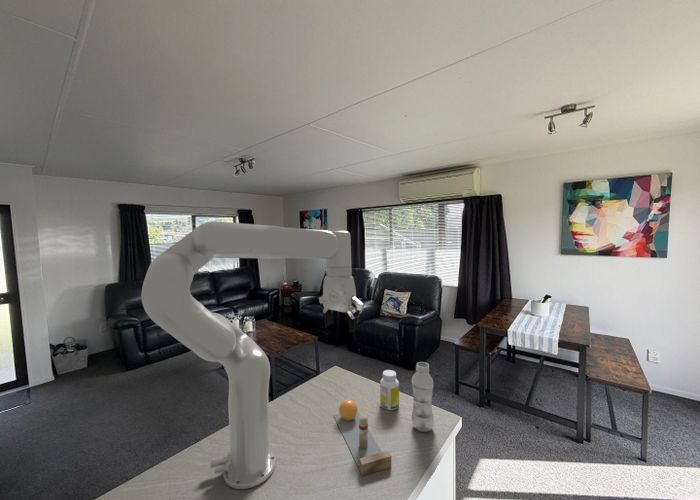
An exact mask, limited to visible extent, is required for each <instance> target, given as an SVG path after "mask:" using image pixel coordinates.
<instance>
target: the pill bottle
mask: <svg viewBox="0 0 700 500" xmlns="http://www.w3.org/2000/svg"><path fill="white" fill-rule="evenodd" d="M379 384H380V385H379V387H380V390H379V391H380V392H379V393H380V394H379V395H380V396H379V397H380V405H381V407H382V408H383V409H385V410H388V411H395V410H397V409H398V408H399V407H400V382H399V380H398V379H397V372H396V371H395V370H393V369H392V370H391V369H385V370H383V372H382V378H381V379H380V382H379Z"/></svg>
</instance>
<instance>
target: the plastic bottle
mask: <svg viewBox="0 0 700 500" xmlns="http://www.w3.org/2000/svg"><path fill="white" fill-rule="evenodd" d="M429 372H430V364H429V363H427V362H424V361H420V362H417V363H416V365H415V373H414V374H413V375H412V378H411V389H412V397H413V405H412V412H411V425H412V426H413V428H414V429H415V430H416V431H418V432H421V433H429V432H431V430H432V429H434V428H433V427H434V425H435V420H434V413H433V403H432V401H433V391H434V384H435V383H434V380H433V379H434V378H433V377H432V376H431V374H430V373H429Z"/></svg>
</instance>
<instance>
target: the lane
mask: <svg viewBox="0 0 700 500" xmlns="http://www.w3.org/2000/svg"><path fill="white" fill-rule="evenodd" d="M359 416H361V415H360V414H359V412H358V411H357V415H356V417H355V418H354V419H353V420H350V421H346V420H344V419H343V418H342V417H341V416H340V414H335V415H333V418H334V419H335V422H336V424H337V425H338V428H339V430H340V432H341V434H342V436H343V438H344V441H345V443H346V445H347V447H348V449H349V452H350V453H351V455H352V457H353V459H354V462H355V464H356V466H357V467H358V468H359V459H360V458H363V457H367V456H370V455H374V454H377V453H381V452H383V450H382V449H381V447H380V446H379V445H378V443H377V441H376V439H375V437H374V436H373V434H372V433H371V432H370V429H368V447H367V449H361V448H360V447H359Z"/></svg>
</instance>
